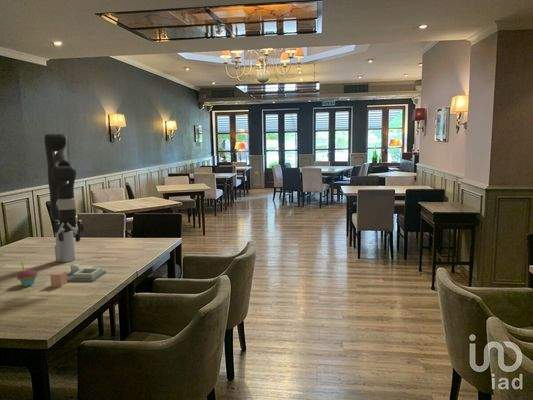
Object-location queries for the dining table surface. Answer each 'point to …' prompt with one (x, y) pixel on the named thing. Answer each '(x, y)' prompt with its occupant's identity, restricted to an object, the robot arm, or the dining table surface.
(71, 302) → the dining table surface
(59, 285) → the block
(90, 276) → the base board
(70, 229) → the robot arm
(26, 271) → the cupcake
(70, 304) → the dining table surface
